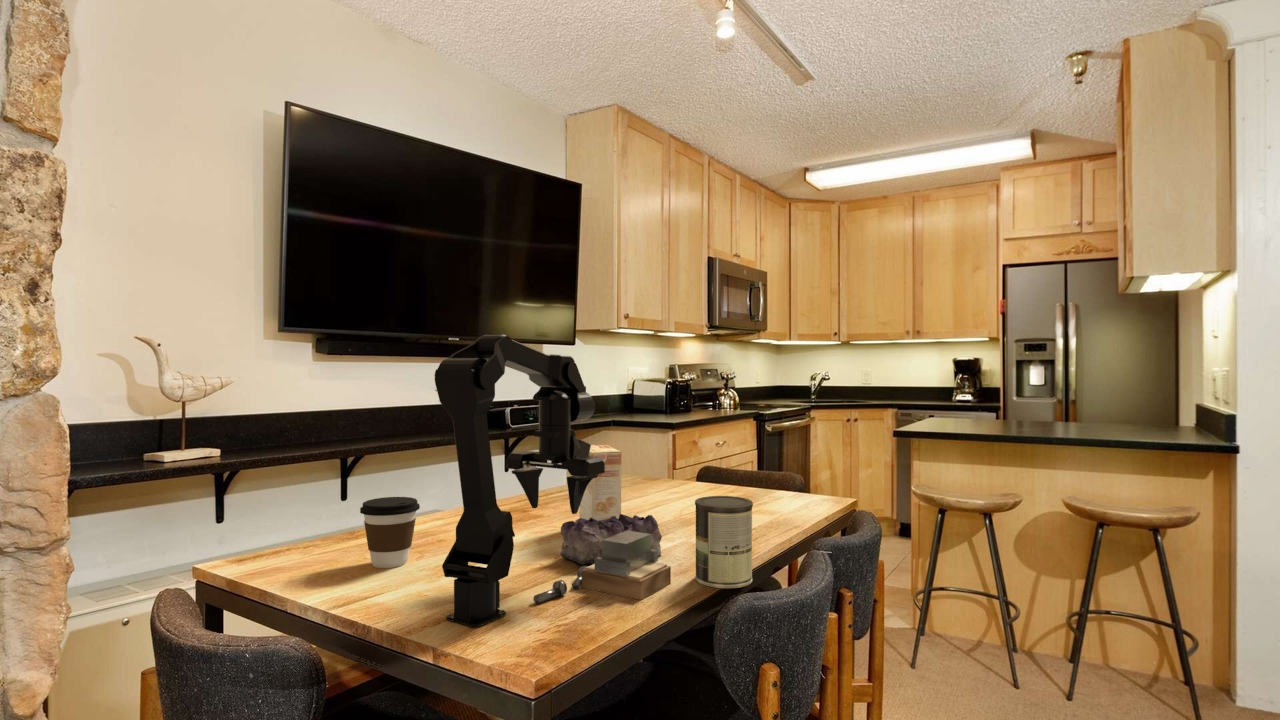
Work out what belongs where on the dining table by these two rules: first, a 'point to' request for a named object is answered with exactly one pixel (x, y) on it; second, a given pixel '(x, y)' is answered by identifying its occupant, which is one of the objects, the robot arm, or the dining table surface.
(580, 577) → the bolt
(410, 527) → the coffee cup
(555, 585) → the bolt
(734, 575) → the coffee can
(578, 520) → the geode
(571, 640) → the dining table surface
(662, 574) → the stand
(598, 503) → the coffeecake box
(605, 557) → the block
